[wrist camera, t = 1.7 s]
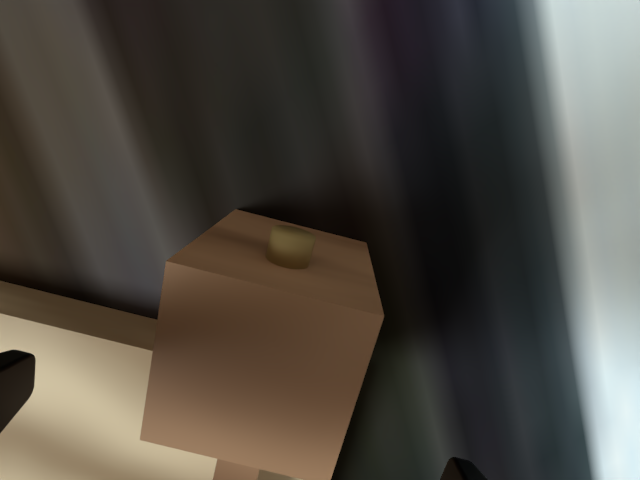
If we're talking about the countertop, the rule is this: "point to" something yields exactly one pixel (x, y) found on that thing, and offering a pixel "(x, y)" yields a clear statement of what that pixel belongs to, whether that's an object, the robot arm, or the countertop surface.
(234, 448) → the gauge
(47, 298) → the board
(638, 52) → the countertop surface
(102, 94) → the countertop surface
